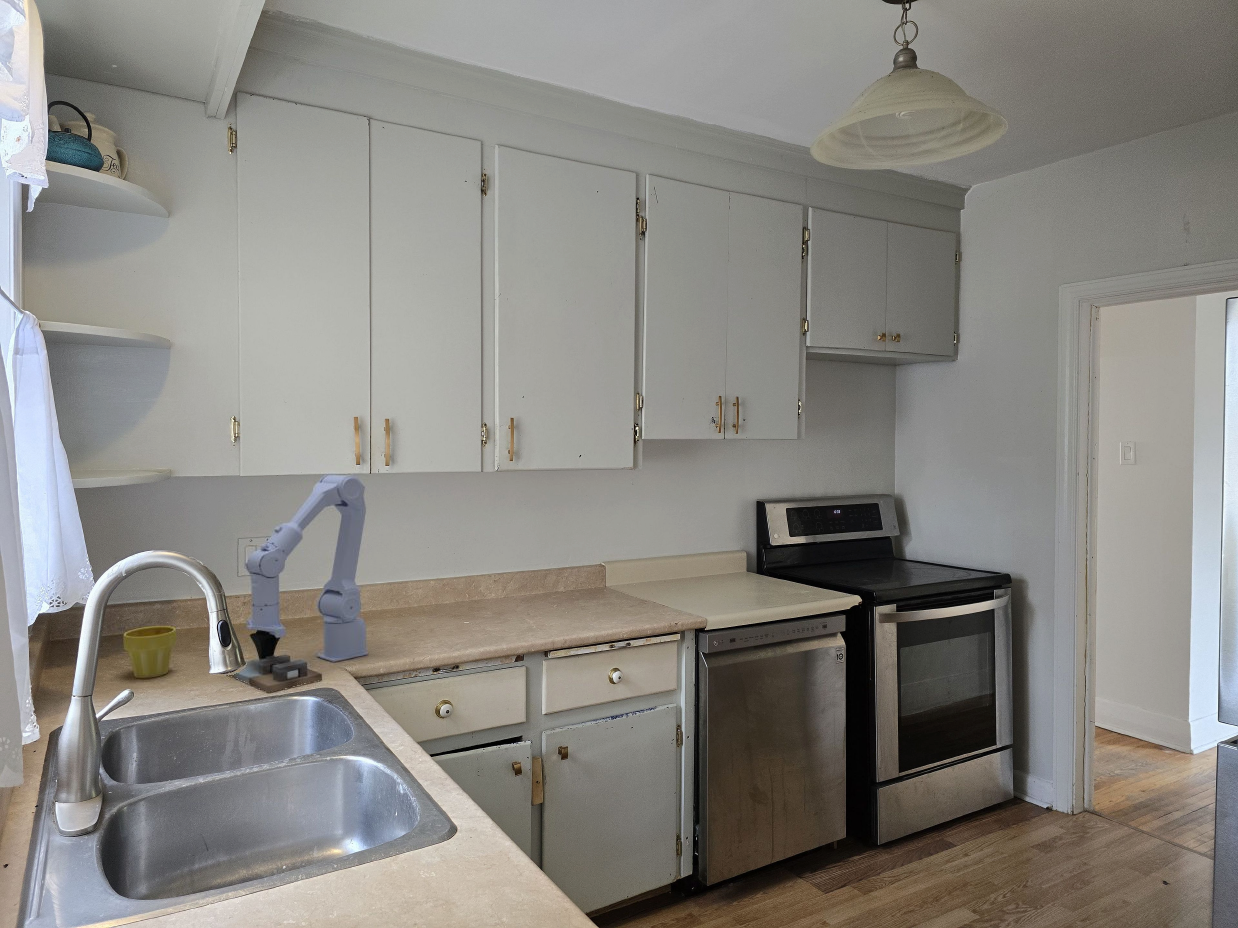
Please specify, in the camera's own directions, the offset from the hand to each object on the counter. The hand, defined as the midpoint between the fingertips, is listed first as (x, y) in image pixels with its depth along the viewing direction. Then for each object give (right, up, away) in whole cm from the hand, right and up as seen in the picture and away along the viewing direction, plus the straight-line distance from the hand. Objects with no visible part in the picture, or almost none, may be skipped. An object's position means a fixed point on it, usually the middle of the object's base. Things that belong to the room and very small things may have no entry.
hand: (266, 663), depth 186 cm
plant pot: (-26, -3, 0) cm, 26 cm away
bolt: (+5, -1, -4) cm, 7 cm away
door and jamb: (+2, -3, -2) cm, 3 cm away
